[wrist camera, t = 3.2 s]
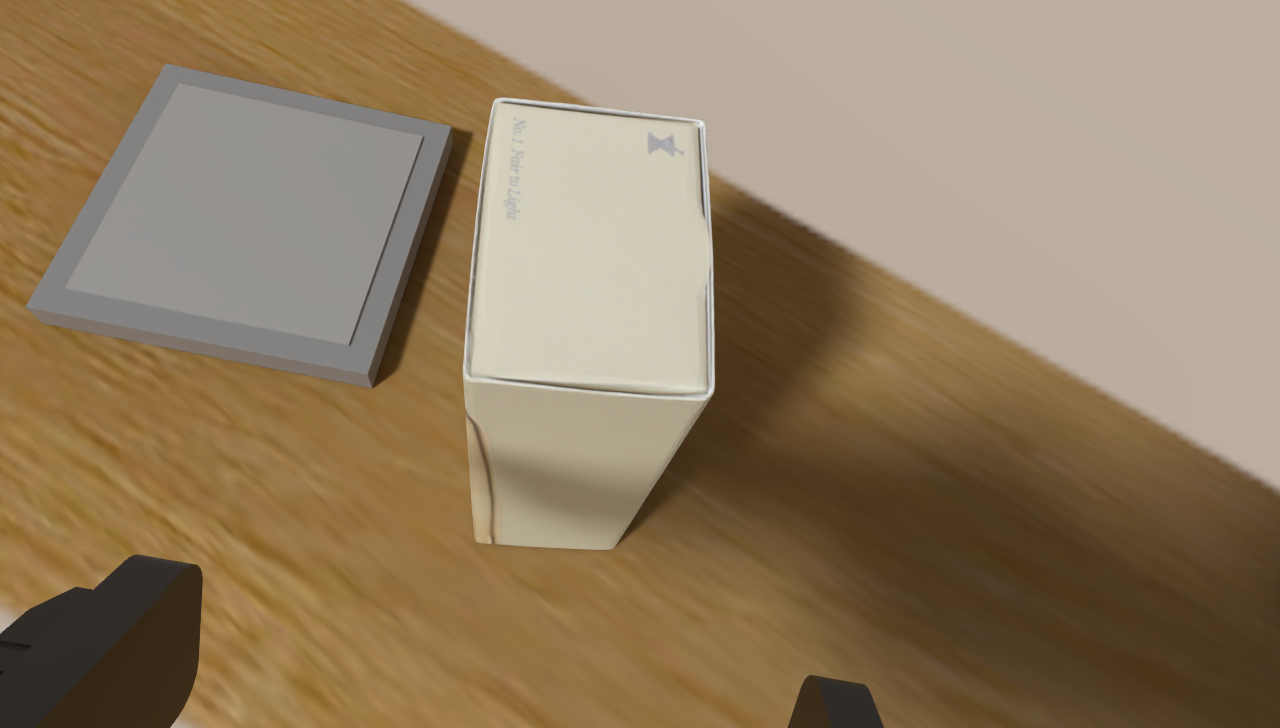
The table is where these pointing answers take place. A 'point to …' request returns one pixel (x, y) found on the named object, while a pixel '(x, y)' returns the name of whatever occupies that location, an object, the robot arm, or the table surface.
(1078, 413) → the table surface
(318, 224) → the plate
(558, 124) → the skincare box
